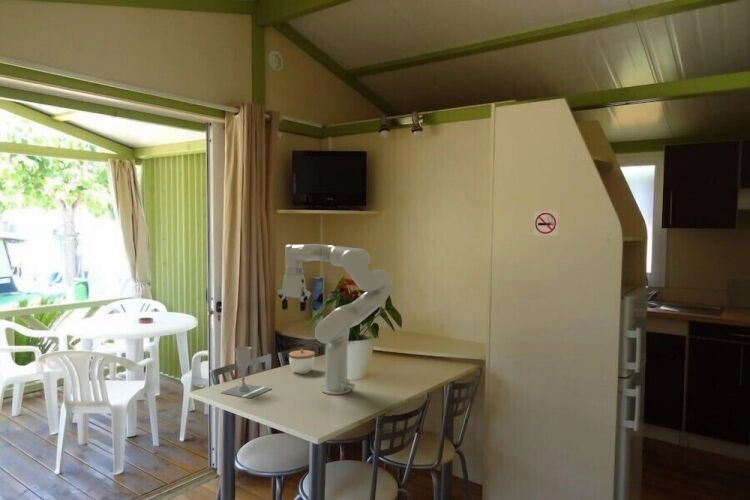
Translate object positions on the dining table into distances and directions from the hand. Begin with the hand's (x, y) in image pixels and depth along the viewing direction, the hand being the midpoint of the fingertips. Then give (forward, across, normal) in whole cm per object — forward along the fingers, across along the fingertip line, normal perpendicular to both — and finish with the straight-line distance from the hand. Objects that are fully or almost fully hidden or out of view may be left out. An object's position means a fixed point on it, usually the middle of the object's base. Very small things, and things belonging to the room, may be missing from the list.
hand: (293, 310), depth 225 cm
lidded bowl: (+34, +8, -18) cm, 39 cm away
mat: (+33, +12, +18) cm, 40 cm away
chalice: (+33, +14, +18) cm, 40 cm away
